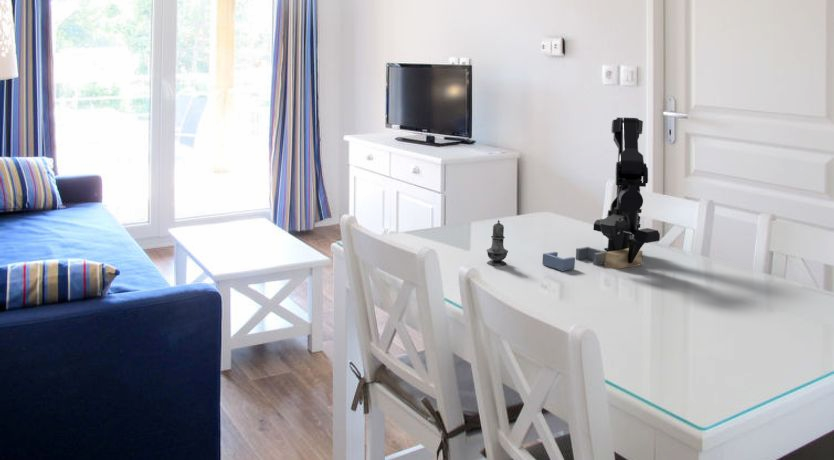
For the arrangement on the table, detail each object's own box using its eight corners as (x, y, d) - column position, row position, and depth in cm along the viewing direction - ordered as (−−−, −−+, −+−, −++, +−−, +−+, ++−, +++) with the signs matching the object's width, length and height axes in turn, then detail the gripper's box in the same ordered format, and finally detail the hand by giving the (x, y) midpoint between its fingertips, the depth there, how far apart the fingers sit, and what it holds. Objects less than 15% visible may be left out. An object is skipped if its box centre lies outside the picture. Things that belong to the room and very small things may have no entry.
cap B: (554, 262, 241) (555, 251, 240) (574, 268, 235) (575, 257, 234) (542, 264, 238) (543, 253, 238) (562, 270, 233) (563, 259, 232)
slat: (630, 261, 245) (631, 247, 244) (641, 265, 242) (642, 251, 241) (604, 266, 240) (605, 252, 239) (615, 269, 237) (617, 255, 236)
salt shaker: (506, 267, 236) (508, 223, 233) (484, 265, 237) (486, 221, 234) (508, 261, 241) (510, 218, 239) (487, 260, 242) (489, 217, 240)
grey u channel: (586, 257, 248) (587, 246, 248) (607, 262, 243) (607, 252, 242) (575, 259, 246) (576, 248, 245) (595, 265, 240) (596, 254, 239)
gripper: (581, 201, 240) (577, 257, 243) (635, 214, 225) (630, 273, 229) (609, 198, 246) (605, 252, 250) (663, 209, 232) (658, 267, 235)
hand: (623, 261), depth 241 cm, fingers open, 4 cm apart
